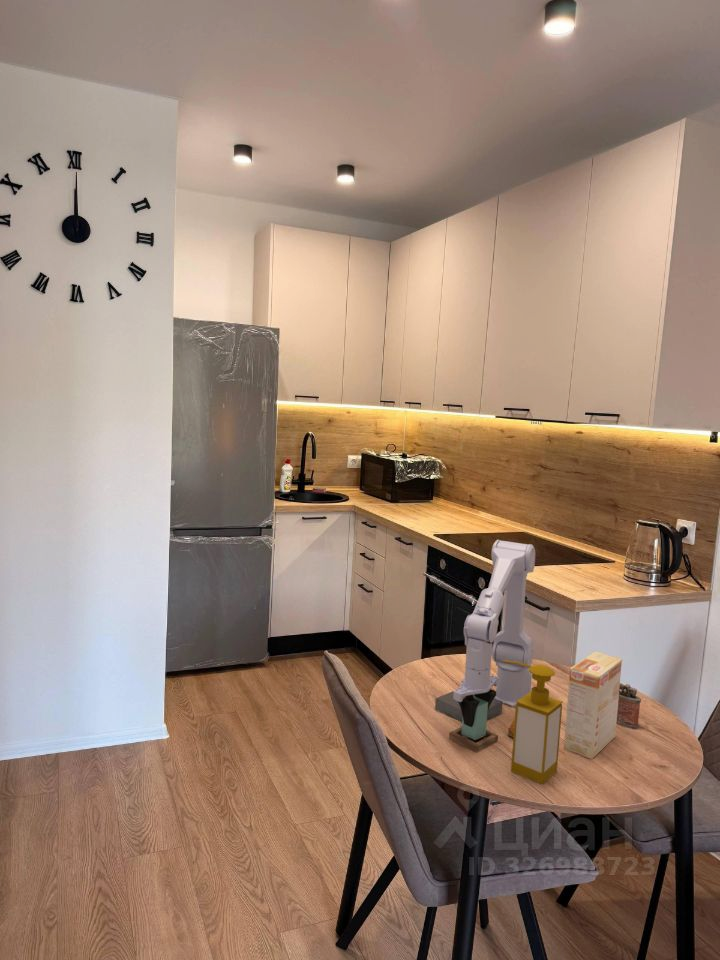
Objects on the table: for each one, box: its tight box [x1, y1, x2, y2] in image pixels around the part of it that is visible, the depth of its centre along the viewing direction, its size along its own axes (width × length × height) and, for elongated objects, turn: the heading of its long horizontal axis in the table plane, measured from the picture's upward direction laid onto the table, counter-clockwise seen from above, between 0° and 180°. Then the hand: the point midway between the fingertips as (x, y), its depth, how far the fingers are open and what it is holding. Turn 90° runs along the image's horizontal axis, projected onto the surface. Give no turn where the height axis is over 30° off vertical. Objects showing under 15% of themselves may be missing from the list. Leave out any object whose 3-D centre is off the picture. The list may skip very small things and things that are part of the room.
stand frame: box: [448, 726, 499, 753], centre depth 158 cm, size 8×8×2 cm
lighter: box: [616, 682, 642, 730], centre depth 170 cm, size 8×3×10 cm, turn 47°
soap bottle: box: [503, 660, 563, 785], centre depth 146 cm, size 7×13×24 cm, turn 50°
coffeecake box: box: [563, 651, 623, 760], centre depth 158 cm, size 15×7×20 cm, turn 139°
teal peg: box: [461, 696, 488, 741], centre depth 158 cm, size 4×4×8 cm
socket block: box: [434, 690, 504, 723], centre depth 173 cm, size 12×12×3 cm
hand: (474, 722), depth 158 cm, fingers closed on teal peg, 4 cm apart
